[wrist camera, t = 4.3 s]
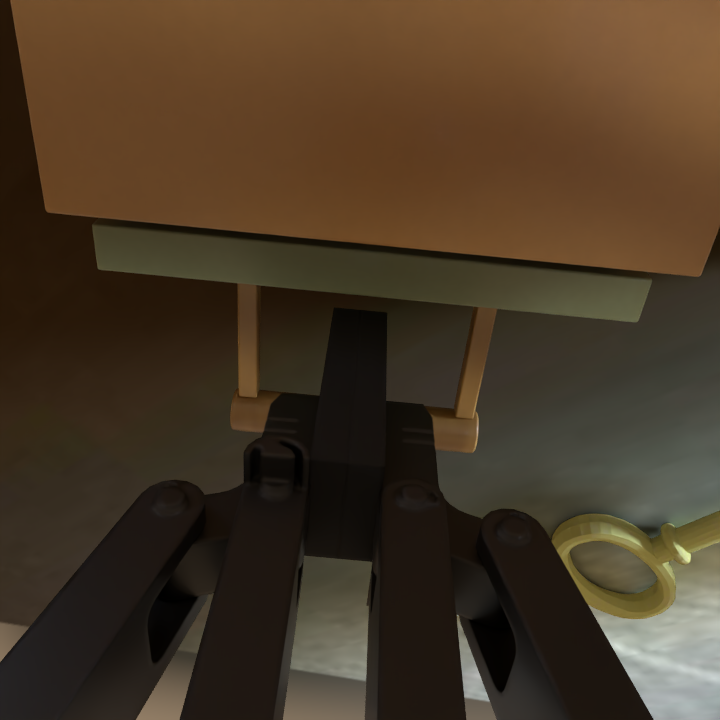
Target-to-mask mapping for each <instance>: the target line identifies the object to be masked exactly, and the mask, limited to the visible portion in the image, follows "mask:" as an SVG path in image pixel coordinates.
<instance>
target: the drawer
mask: <svg viewBox="0 0 720 720" xmlns="http://www.w3.org/2000/svg"><path fill="white" fill-rule="evenodd" d="M92 229H93V237H94V245H95V252H96V260H97V267H98V269H100V270H109V271H119V272H129V273H139V274H149V275H159V276H170V277H180V278H190V279H200V280H210V281H221V282H231V283H237V292H238V374H239V388H237V389H236V391H235V393H234V395H233V399H232V405H231V415H230V422H231V427H232V429H233V430H238V431H248V432H259V433H263V431H264V427H265V423H266V420H267V416H268V412H269V408H270V405H271V403H272V402H273V401H274V400H275V399H276V398H277V397H278V396H279V395H280V394H281V393H286V392H276V391H266V390H259V389H260V296H261V286H271V287H282V288H292V289H302V290H312V291H322V292H332V293H343V294H353V295H363V296H373V297H383V298H393V299H404V300H414V301H424V302H434V303H444V304H454V305H465V306H474V308H473V313H472V319H471V324H470V329H469V334H468V339H467V344H466V349H465V354H464V359H463V364H462V369H461V374H460V379H459V384H458V389H457V394H456V400H455V405H454V409H451V408H440V407H430V406H425V408H426V409H427V411H428V412H429V413H430V415H431V416H432V418H433V429H434V440H435V450H444V451H454V452H465V453H473V452H474V450H475V448H476V445H477V440H478V431H479V420H478V415H477V412H475V408H476V404H477V399H478V395H479V390H480V386H481V381H482V376H483V372H484V367H485V363H486V358H487V354H488V349H489V344H490V340H491V335H492V331H493V326H494V322H495V317H496V312H497V309H505V310H515V311H526V312H536V313H546V314H556V315H566V316H576V317H587V318H597V319H607V320H617V321H627V322H638V320H639V317H640V315H641V312H642V309H643V306H644V303H645V300H646V297H647V294H648V292H649V289H650V286H651V283H652V279H651V277H650V276H649V275H648V273H647V272H644V271H634V270H624V269H614V268H604V267H594V266H583V265H573V264H563V263H553V262H543V261H533V260H523V259H513V258H502V257H492V256H482V255H472V254H462V253H452V252H442V251H432V250H421V249H411V248H401V247H391V246H381V245H371V244H361V243H351V242H340V241H330V240H320V239H310V238H300V237H290V236H280V235H270V234H259V233H249V232H239V231H229V230H219V229H209V228H199V227H189V226H178V225H168V224H158V223H148V222H138V221H128V220H118V219H108V218H99V219H97V220H96V221H95V222H94V223H93V225H92ZM292 394H297V393H292ZM303 395H307V394H303ZM313 396H317V395H313Z"/></svg>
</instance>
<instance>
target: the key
mask: <svg viewBox="0 0 720 720" xmlns="http://www.w3.org/2000/svg"><path fill="white" fill-rule="evenodd" d="M660 532H661V535H659V536H656V537H654V538H652V539H651V538H650V537H648V536H647V535H646V534H645V533H644V532H642V531H641V530H640V529H638V528H637V527H636V526H634V525H632V524H630V523H629V522H627V521H625V520H622V519H619V518H616V517H613V516H610V515H606V514H584V515H579V516H576V517H573V518H571V519H569V520H567V521H565V522H563V523H562V524H561V525H560V526H559V527H558V528H557V529H556V530H555V532H554V534H553V536H552V541H551V542H552V543H553V545H554V547H555V549H556V550H557V552H558V554H559V556H560V557H561V559H562V561H563V563H564V564H565V566H566V568H567V570H568V571H569V573H570V575H571V577H572V578H573V580H574V582H575V584H576V585H577V587H578V589H579V590H580V592H581V594H582V596H583V597H584V599H585V601H586V603H587V604H588V605H590V606H592V607H594V608H596V609H598V610H600V611H603V612H605V613H608V614H611V615H614V616H618V617H621V618H628V619H644V618H648V617H652V616H655V615H658V614H661V613H662V612H664V611H665V610H667V609H668V608H669V607H670V606H671V605H672V603H673V602H674V600H675V592H676V585H675V576H674V573H673V570H672V567H671V566H670V564H669V562H668V561H671V560H674V559H675V560H676V561H677V562H678V563H680V564H682V565H684V564H688V563H690V559H691V555H690V553H692V552H694V551H697V550H699V549H702V548H705V547H707V546H710V545H712V544H715V543H718V542H720V511H717V512H715V513H713V514H710V515H708V516H705V517H703V518H700V519H698V520H695V521H693V522H691V523H688V524H686V525H683V526H681V527H678V528H676V527H675V526H673V525H672V524H670V523H665V524H663V525H662V526H661V531H660ZM590 541H605V542H609V543H612V544H615V545H618V546H621V547H623V548H625V549H627V550H629V551H631V552H632V553H634V554H635V555H636V556H638V557H639V558H640V559H642V560H643V561H644V562H645V563H646V564H647V565H648V566H649V567H650V568H651V569H652V570H653V571H654V572H655V574H656V575H657V578H658V579H657V581H656V582H655V584H654V585H653V586H651V587H650V588H648V589H646V590H645V591H643V592H639V593H634V594H620V593H615V592H612V591H608V590H605V589H603V588H600V587H598V586H596V585H594V584H593V583H591V582H589V581H588V580H587V579H586V578H584V577H583V576H582V575H581V574H580V573H579V572H578V571H577V569H576V568H575V566H574V565H573V563H572V560H571V557H570V552H569V551H570V550H571V549H572V548H573V547H574V546H576V545H578V544H581V543H585V542H590Z"/></svg>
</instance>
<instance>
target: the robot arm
mask: <svg viewBox="0 0 720 720" xmlns="http://www.w3.org/2000/svg"><path fill="white" fill-rule="evenodd" d="M386 358H387V313H386V312H375V311H365V310H354V309H344V308H334V311H333V317H332V323H331V329H330V336H329V342H328V348H327V354H326V360H325V367H324V373H323V379H322V385H321V392H320V396H313V395H303V394H292V393H281V394H280V395H279V396H278V397H277V398H276V399H275V400H274V401H273V402H272V403H271V405H270V408H269V412H268V416H267V420H266V423H265V427H264V431H263V435H262V438H258V439H256V440H255V441H253V442H252V443H250V444H249V445H248V446H247V448H246V450H245V451H244V483H243V484H241V485H240V486H238V487H236V488H234V489H232V490H229V491H225V492H221V493H215V494H208V495H204V493H203V492H202V491H201V490H200V489H199V487H198V486H196V485H194V484H192V483H190V482H187V481H180V480H170V481H163V482H160V483H157V484H155V485H153V486H150V487H149V488H148V489H146V490H145V491H144V492H143V493H142V494H141V495H140V496H139V497H138V498H137V499H136V501H135V502H134V503H133V504H132V505H131V507H130V508H129V509H128V510H127V511H126V512H125V514H124V515H123V516H122V517H121V518H120V520H119V521H118V522H117V523H116V524H115V526H114V527H113V528H112V529H111V530H110V532H109V533H108V534H107V535H106V536H105V538H104V539H103V540H102V541H101V542H100V544H99V545H98V546H97V547H96V548H95V550H94V551H93V552H92V553H91V554H90V556H89V557H88V558H87V559H86V560H85V562H84V563H83V564H82V565H81V566H80V568H79V569H78V570H77V571H76V572H75V573H74V575H73V576H72V577H71V578H70V579H69V581H68V582H67V583H66V584H65V585H64V587H63V588H62V589H61V590H60V591H59V593H58V594H57V595H56V596H55V597H54V599H53V600H52V601H51V602H50V603H49V605H48V606H47V607H46V608H45V609H44V611H43V612H42V613H41V614H40V615H39V617H38V618H37V619H36V620H35V621H34V623H33V624H32V625H31V626H30V627H29V629H28V630H27V631H26V632H25V633H24V634H23V636H22V637H21V638H20V639H19V640H18V642H17V643H16V644H15V645H14V646H13V648H12V649H11V650H10V651H9V652H8V654H7V655H6V656H5V657H4V659H3V660H2V661H1V662H0V720H136V718H137V716H138V715H139V713H140V712H141V710H142V708H143V706H144V705H145V703H146V701H147V700H148V698H149V696H150V695H151V693H152V691H153V690H154V688H155V686H156V685H157V683H158V681H159V679H160V678H161V676H162V674H163V673H164V671H165V669H166V667H167V666H168V664H169V663H170V661H171V659H172V657H173V656H174V654H175V652H176V651H177V649H178V647H179V646H180V644H181V642H182V641H183V639H184V637H185V635H186V634H187V632H188V630H189V629H190V627H191V625H192V624H193V622H194V620H195V619H196V617H197V615H198V613H199V612H200V610H201V608H202V607H203V605H204V603H205V602H206V600H207V597H208V594H212V593H214V595H213V599H212V603H211V606H210V610H209V614H208V617H207V621H206V625H205V628H204V632H203V636H202V639H201V643H200V647H199V650H198V654H197V658H196V661H195V665H194V669H193V672H192V677H191V680H190V683H189V687H188V691H187V694H186V698H185V702H184V705H183V710H182V713H181V716H180V720H283V714H284V707H285V699H286V692H287V685H288V678H289V671H290V664H291V656H292V649H293V642H294V635H295V627H296V620H297V613H298V606H299V598H300V591H301V584H302V577H303V561H304V556H315V557H326V558H337V559H348V560H359V561H370V562H372V571H371V578H370V585H369V592H368V599H367V606H369V621H368V648H367V675H366V702H365V703H366V704H365V720H466V712H465V702H464V691H463V681H462V670H461V660H460V649H459V638H458V628H457V617H456V614H457V615H459V616H460V622H461V625H462V628H463V630H464V633H465V636H466V638H467V641H468V644H469V646H470V649H471V652H472V654H473V657H474V660H475V662H476V665H477V668H478V670H479V673H480V676H481V678H482V681H483V684H484V686H485V689H486V692H487V694H488V697H489V700H490V702H491V705H492V708H493V711H494V713H495V716H496V719H497V720H653V718H652V716H651V714H650V713H649V711H648V709H647V707H646V706H645V704H644V702H643V700H642V699H641V697H640V695H639V693H638V692H637V690H636V688H635V686H634V685H633V683H632V681H631V679H630V678H629V676H628V674H627V672H626V671H625V669H624V667H623V666H622V664H621V662H620V660H619V659H618V657H617V655H616V653H615V652H614V650H613V648H612V646H611V645H610V643H609V641H608V639H607V638H606V636H605V634H604V632H603V631H602V629H601V627H600V625H599V624H598V622H597V620H596V618H595V617H594V615H593V613H592V611H591V610H590V608H589V606H588V604H587V603H586V601H585V599H584V597H583V596H582V594H581V592H580V590H579V589H578V587H577V585H576V584H575V582H574V580H573V578H572V577H571V575H570V573H569V571H568V570H567V568H566V566H565V564H564V563H563V561H562V559H561V557H560V556H559V554H558V552H557V550H556V549H555V547H554V545H553V543H552V542H551V540H550V538H549V536H548V535H547V533H546V531H545V530H544V528H543V527H542V526H541V525H540V524H539V522H538V521H537V520H535V519H534V518H532V517H531V516H529V515H528V514H526V513H523V512H520V511H517V510H514V509H498V510H495V511H491V512H490V513H488V514H487V515H486V516H485V517H484V518H483V519H480V518H478V517H475V516H472V515H469V514H466V513H464V512H462V511H459V510H458V509H456V508H455V507H453V506H452V505H450V504H449V503H448V502H447V501H446V500H445V499H444V496H443V494H442V492H441V491H440V489H439V485H438V474H437V463H436V452H435V440H434V429H433V418H432V416H431V415H430V413H429V412H428V411H427V409H426V408H425V406H424V405H423V404H413V403H403V402H392V401H386Z"/></svg>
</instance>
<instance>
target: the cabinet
mask: <svg viewBox="0 0 720 720" xmlns="http://www.w3.org/2000/svg"><path fill="white" fill-rule="evenodd" d="M10 1H11V7H12V13H13V19H14V25H15V31H16V37H17V43H18V49H19V55H20V61H21V67H22V73H23V79H24V85H25V90H26V96H27V102H28V108H29V114H30V120H31V126H32V132H33V138H34V144H35V150H36V156H37V162H38V168H39V174H40V180H41V186H42V192H43V198H44V203H45V209H46V211H47V212H48V213H57V214H67V215H77V216H87V217H97V218H108V219H118V220H128V221H138V222H148V223H158V224H168V225H178V226H189V227H199V228H209V229H219V230H229V231H239V232H249V233H259V234H270V235H280V236H290V237H300V238H310V239H320V240H330V241H340V242H351V243H361V244H371V245H381V246H391V247H401V248H411V249H421V250H432V251H442V252H452V253H462V254H472V255H482V256H492V257H502V258H513V259H523V260H533V261H543V262H553V263H563V264H573V265H583V266H594V267H604V268H614V269H624V270H634V271H644V272H654V273H664V274H675V275H685V276H695V277H698V276H700V275H701V274H702V271H703V269H704V266H705V263H706V261H707V258H708V256H709V253H710V251H711V248H712V245H713V243H714V240H715V238H716V235H717V233H718V230H719V227H720V0H10Z"/></svg>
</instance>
